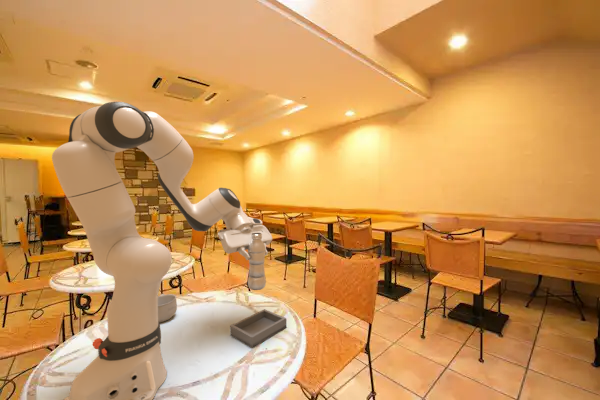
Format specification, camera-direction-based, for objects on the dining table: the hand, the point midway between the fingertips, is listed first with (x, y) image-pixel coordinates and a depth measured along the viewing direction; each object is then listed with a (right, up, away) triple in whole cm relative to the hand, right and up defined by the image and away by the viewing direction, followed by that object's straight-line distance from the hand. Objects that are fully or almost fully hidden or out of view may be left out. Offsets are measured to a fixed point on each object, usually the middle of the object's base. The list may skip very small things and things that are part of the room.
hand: (257, 256), depth 90 cm
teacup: (-41, -28, +14) cm, 52 cm away
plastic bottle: (0, -12, +1) cm, 12 cm away
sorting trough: (0, -27, +1) cm, 27 cm away
